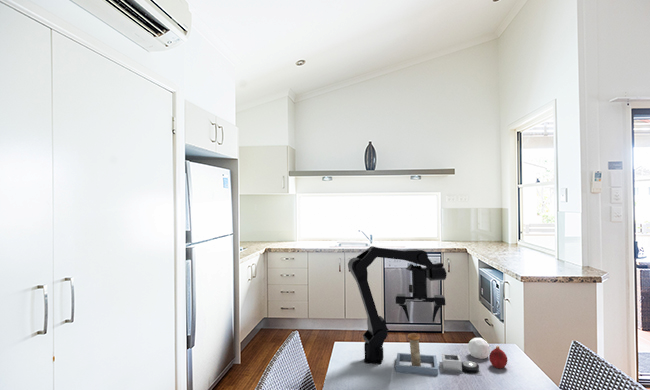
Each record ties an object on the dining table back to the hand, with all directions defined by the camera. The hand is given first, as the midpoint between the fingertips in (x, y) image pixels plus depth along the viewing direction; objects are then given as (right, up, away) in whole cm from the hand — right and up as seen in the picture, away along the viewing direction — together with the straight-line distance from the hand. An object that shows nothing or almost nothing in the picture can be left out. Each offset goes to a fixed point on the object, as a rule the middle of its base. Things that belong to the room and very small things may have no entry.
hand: (420, 321), depth 143 cm
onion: (+24, -12, -15) cm, 30 cm away
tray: (-5, -13, -13) cm, 18 cm away
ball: (+21, -13, -5) cm, 25 cm away
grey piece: (+9, -12, -15) cm, 22 cm away
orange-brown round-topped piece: (-5, -12, -13) cm, 18 cm away
